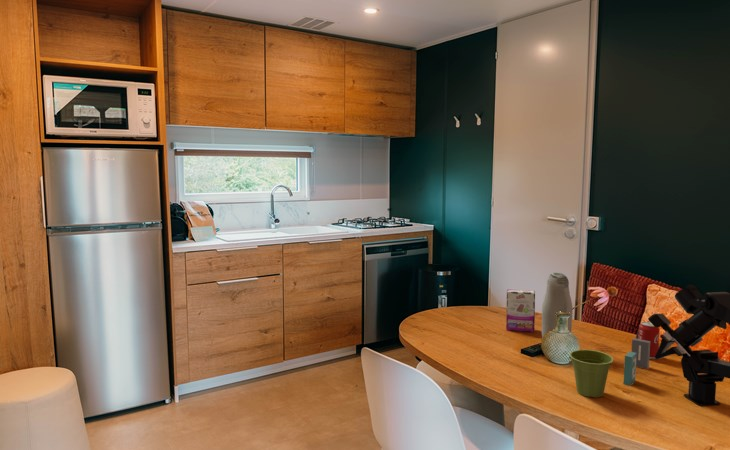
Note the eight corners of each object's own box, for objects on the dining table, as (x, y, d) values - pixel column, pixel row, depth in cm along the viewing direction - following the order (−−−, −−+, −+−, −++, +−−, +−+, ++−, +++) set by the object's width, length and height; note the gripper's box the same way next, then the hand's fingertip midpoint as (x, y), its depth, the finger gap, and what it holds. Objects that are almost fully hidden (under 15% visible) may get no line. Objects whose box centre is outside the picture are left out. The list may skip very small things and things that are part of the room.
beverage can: (660, 360, 179) (662, 327, 178) (640, 359, 180) (642, 325, 179) (654, 354, 185) (656, 321, 184) (635, 353, 186) (636, 320, 185)
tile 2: (636, 380, 162) (637, 353, 161) (631, 385, 159) (632, 357, 158) (627, 378, 164) (628, 351, 163) (622, 383, 160) (624, 355, 159)
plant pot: (575, 381, 162) (576, 346, 161) (616, 391, 155) (618, 355, 153) (562, 394, 153) (563, 357, 152) (605, 405, 146) (607, 367, 144)
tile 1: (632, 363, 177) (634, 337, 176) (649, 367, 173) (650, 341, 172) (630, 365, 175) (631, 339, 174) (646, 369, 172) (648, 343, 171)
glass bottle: (576, 350, 190) (579, 274, 187) (554, 354, 186) (556, 277, 183) (557, 341, 199) (559, 269, 196) (535, 345, 195) (537, 272, 192)
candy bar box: (534, 329, 214) (535, 290, 213) (534, 332, 210) (535, 293, 208) (506, 326, 218) (507, 288, 216) (505, 330, 213) (506, 291, 211)
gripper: (734, 351, 147) (691, 382, 155) (683, 300, 158) (645, 331, 166) (720, 354, 140) (675, 386, 148) (668, 300, 152) (629, 333, 160)
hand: (656, 358), depth 156 cm, fingers closed
